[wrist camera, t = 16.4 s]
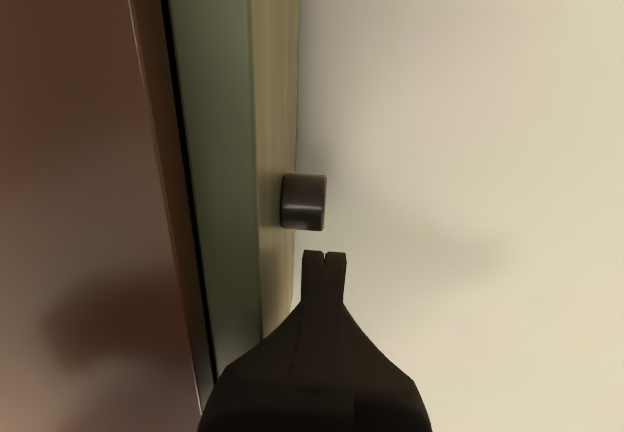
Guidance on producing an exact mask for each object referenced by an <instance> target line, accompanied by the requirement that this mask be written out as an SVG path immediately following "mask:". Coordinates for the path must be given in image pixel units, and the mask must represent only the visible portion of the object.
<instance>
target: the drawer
mask: <svg viewBox="0 0 624 432" xmlns="http://www.w3.org/2000/svg"><path fill="white" fill-rule="evenodd" d="M161 7H162V14H163V22H164V29H165V36H166V43H167V50H168V58H169V65H170V72H171V79H172V87H173V94H174V98H181V105H182V113H183V121H184V128H185V136H186V144H187V151H188V159H189V167H190V175H191V182H192V190H193V198H194V205H195V213H196V221H197V229H198V236H199V244H200V252H201V259H202V267H203V275H204V282H205V290H206V292H205V294H204V295H201V297H202V304H203V311H204V318H205V326H206V333H207V340H208V347H209V346H210V343H211V341H212V344H213V352H214V360H215V367H216V375H217V380H218V379H219V377H220V375H221V374H222V372H223V370H224V369H225V367H226V366H227V365H228V364H230V363H232V362H233V361H234V360H236V359H237V358H239V357H240V356H242V355H243V354H245V353H246V352H248V351H249V350H251V349H252V348H253V347H254V346H256V345H257V344H258V343H259V342H261V341H262V340H263V339H264V338H265V337H267V336H268V335H269V334H270V333H271V332H272V331H274V330H275V329H276V328H277V327H278V326H279V325H280V324H281V323H282V322H283V321H284V320H285V319H286V318H287V316H288V315H289V313H290V307H291V301H292V295H293V266H294V229H296V230H311V231H322V230H323V228H324V212H325V197H326V181H327V178H326V176H324V175H310V174H295V165H296V114H297V63H298V12H299V0H161Z"/></svg>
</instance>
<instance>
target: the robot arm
mask: <svg viewBox="0 0 624 432" xmlns="http://www.w3.org/2000/svg"><path fill="white" fill-rule="evenodd" d="M346 264H347V261H346V254H345V253H342V252H327V253H326V254H325V259H324V254H323V253H322V252H321V251H314V250H304V253H303V258H302V277H301V301H300V302H299V304H298V305H297V306H296V307H295V309H294V310H293V311H292V312H291V313H290V314H289V315H288V316H287V318H286V319H285V320H284V321H283V322H282V323H281V324H280V325H279V326H278V327H277V328H276V329H275V330H274V331H272V332H271V333H270V334H269V335H268V336H267V337H265V338H264V339H263V340H262V341H261V342H259V343H258V344H257V345H256V346H254V347H253V348H252V349H251V350H249V351H248V352H246V353H245V354H243V355H242V356H240V357H239V358H237V359H236V360H234V361H233V362H232V363H230V364H228V365H227V366H226V367H225V369H224V370H223V372H222V374H221V375H220V377H219V379H218V380H217V382H216V384H215V386H214V388H213V390H212V392H211V394H210V396H209V398H208V400H207V402H206V405H205V408H204V410H203V413H202V416H201V419H200V422H199V424H198V427H197V432H432V428H431V423H430V420H429V417H428V414H427V411H426V408H425V406H424V403H423V401H422V398H421V396H420V393H419V391H418V389H417V387H416V385H415V383H414V381H413V380H412V379H411V378H410V377H409V376H407V375H406V374H405V373H404V372H403V371H401V370H400V369H399V368H398V367H397V366H395V365H394V364H393V363H392V362H391V361H390V360H389V359H388V358H387V357H386V356H385V355H384V354H383V353H382V352H381V351H379V349H378V348H377V347H376V346H375V345H374V344H373V343H372V341H371V340H370V339H369V338H368V337H367V336H366V335H365V333H364V332H363V331H362V330H361V328H360V327H359V326H358V325H357V323H356V322H355V321H354V319H353V318H352V316H351V315H350V313H349V312H348V310H347V309H346V307H345V305H344V304H343V293H344V283H345V274H346Z"/></svg>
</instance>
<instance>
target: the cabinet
mask: <svg viewBox="0 0 624 432" xmlns="http://www.w3.org/2000/svg"><path fill="white" fill-rule="evenodd" d="M216 382H217V375H216V367H215V360H214V352H213V344H212V341H211V343H210V346H209V347H208V340H207V333H206V326H205V318H204V311H203V304H202V297H201V289H200V282H199V275H198V268H197V260H196V253H195V246H194V239H193V232H192V224H191V217H190V210H189V203H188V195H187V188H186V181H185V174H184V166H183V159H182V152H181V145H180V137H179V130H178V123H177V116H176V108H175V101H174V94H173V87H172V79H171V72H170V65H169V58H168V50H167V43H166V36H165V29H164V22H163V14H162V7H161V0H0V432H197V427H198V424H199V422H200V419H201V416H202V413H203V410H204V408H205V405H206V402H207V400H208V398H209V396H210V394H211V392H212V390H213V388H214V386H215V384H216Z"/></svg>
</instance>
